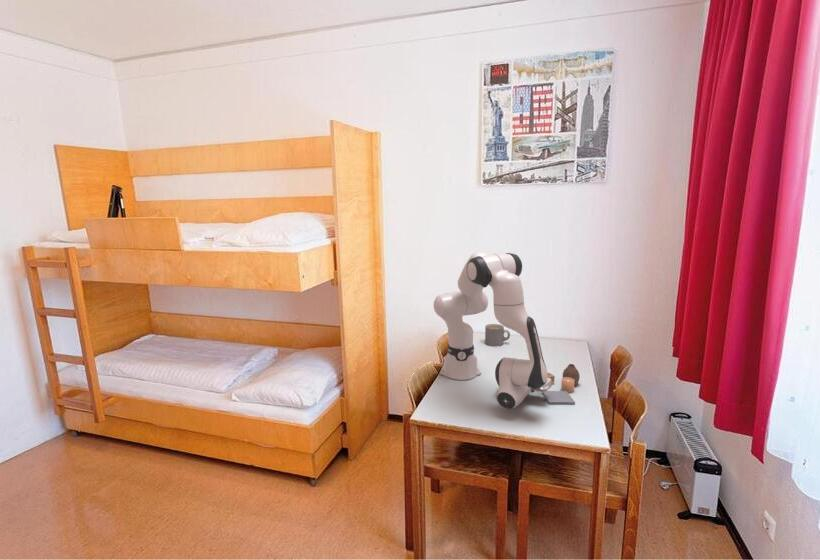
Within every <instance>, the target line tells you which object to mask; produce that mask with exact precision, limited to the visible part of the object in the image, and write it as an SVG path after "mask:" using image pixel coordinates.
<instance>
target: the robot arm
mask: <svg viewBox="0 0 820 560" xmlns="http://www.w3.org/2000/svg"><path fill="white" fill-rule="evenodd" d="M522 271H523V263H522V259H521V258H520V256H519V255H518V254H516V253H511V252H505V253H491V254H489V253H488V252H485V251H481V250H478V251H475V252H474V253H472V254H471V256H470V257H469V258H468V259H467V261H466V262H465V264H464V266H463V268H462V270H461V273H460V275H459V278H458V280H457V287H458V289H459V291H454V292H453V291H451V292H445V293H442V294H439V295H437V296H436V297H435V298H434V302H433V310H434V312H435V313H436V315H437V316H438V317H440V318H441V319H442V320H443V321H444V323H445V325H446V327H447V333H448V344H447V354H446V355H445V356H443V358H442V359H443V360H442V361H443V364H442V366H441V369H440V372H439V374H440V375H442V376H445V377H448V378H450V379H453V380H456V381H457V380H459V381H466V380H467V381H468V380H471V379H472V380H473V379H475V378H476V377H477V376H481V375H482V371H481V370H480V369H479V367H478V357H477V356H476V354H475V345H474V329H473V327H472V326H471V325H470V324H468V323H467V322H464V321H463V317H464V316H472V315H473V316H474V315H478V314H481V313H483V312H485V311H486V310H487V309H488V305H489V298H488V296H487V293H485V292H484V291H483V289H484V288H487V287H488V286H489V287H491V289H492V294H493V295H492V296H493V298H492V299H493V311H494V313H493V314H494V316H495V319H496V320H497V321H498V323H499V324H500V325H502V326H504V328H507V329H509V330H511V331H514V332H516V333H517V334H519V335H520V336H522V338H523V339H524V340H525V343H526V349H527V353H528V358H529V359H522V358H515V357H505V356H504V357H503V358H501V359H499V361H498V363H497V364H496V367H495V368H494V369H495V370H494V371H495V372H494V375H495V376H494V377H495V380H496V383H497V385H498V390H497V393H496V401H497V403H498V404H499V405H500V407H502V408H505V409H507V410H508V409H509V410H512V409H515V408H517V407H519V405H520V404H522V402H523V401H524V400H525V399H526V397H527V396H528V395H529V394H530V391H531V390H535V391H534V392H540V393H542V392H545V391H549V389H551V387H552V385H551V384H552V380H551V379H550V378H547V373H548V370H547V365H546V363H545V360H544V357H543V356H544V355H543V352H542V348H541V342H540V338H539V333H538V330H537V326H536V323H535V319H534V318H532V317H531V316H530V315H529V314H528V312H527V311H526V308H525V300H524V299H525V298H524V297H525V295H524V291H523V285H522V280H521V278H520V276H521V274H522Z"/></svg>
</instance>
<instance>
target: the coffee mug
mask: <svg viewBox="0 0 820 560" xmlns="http://www.w3.org/2000/svg"><path fill="white" fill-rule="evenodd" d="M484 327H485V333H484V336H485V337H484V344H485V345H486V346H489V347H492V348H493V347H494V346H495V348H497V346H498V347H502V346H503V345H504V342H505V341H507V340H509V339H510V337H511V332H510V330H508V329H505V326H503V325H502V324H500V323H499V324H498V323H489V324H486V325H485V326H484ZM505 333H507V336H505Z"/></svg>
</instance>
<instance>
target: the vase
mask: <svg viewBox="0 0 820 560" xmlns="http://www.w3.org/2000/svg"><path fill="white" fill-rule="evenodd" d="M563 377H571V378H573V379H574V380H575V382H574V387H575V386H577V385H578V383H579V382H580V378H581V377H580V372H579V371H578V368H577V367H576V366H575V364H573V363H569V364H568V365H567V367H565V369H564V370H563V372H562V378H563Z"/></svg>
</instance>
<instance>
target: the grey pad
mask: <svg viewBox="0 0 820 560" xmlns="http://www.w3.org/2000/svg"><path fill="white" fill-rule="evenodd" d="M541 394H542V395H544V396H543V397H544V399H545V400H546V401H547V403H548V405H551V406H554V405H555V406H557V405H559V406H560V405H566V406H567V405H571V406H572V405H576V402H575V400H574V398H573V397H572V395H570V393H568V392H567V391H562V390H547V391H545V392H541Z"/></svg>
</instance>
